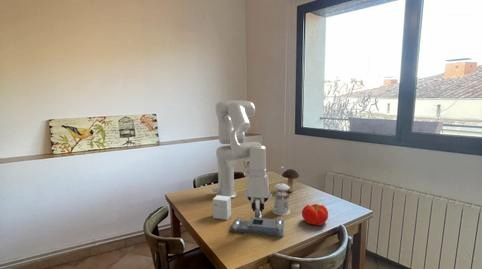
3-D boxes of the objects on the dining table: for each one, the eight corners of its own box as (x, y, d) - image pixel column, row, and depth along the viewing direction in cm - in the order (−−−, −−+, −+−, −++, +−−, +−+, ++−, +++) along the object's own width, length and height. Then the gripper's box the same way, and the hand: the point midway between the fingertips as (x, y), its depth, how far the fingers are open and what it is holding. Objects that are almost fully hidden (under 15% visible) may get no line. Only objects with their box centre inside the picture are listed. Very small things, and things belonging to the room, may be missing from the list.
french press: (270, 213, 143) (270, 168, 139) (275, 204, 154) (275, 162, 150) (288, 216, 140) (289, 170, 136) (292, 207, 151) (293, 163, 146)
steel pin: (254, 217, 124) (254, 197, 123) (255, 214, 127) (255, 194, 125) (260, 218, 124) (260, 197, 122) (261, 215, 126) (261, 195, 125)
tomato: (306, 229, 126) (306, 212, 125) (299, 217, 139) (299, 201, 137) (332, 228, 127) (333, 211, 126) (323, 216, 139) (324, 200, 138)
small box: (231, 215, 142) (231, 196, 140) (227, 220, 136) (227, 200, 135) (217, 213, 144) (216, 194, 142) (213, 218, 139) (212, 198, 137)
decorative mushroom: (301, 190, 175) (301, 168, 172) (295, 196, 166) (296, 172, 163) (285, 187, 181) (285, 165, 178) (278, 192, 171) (279, 170, 169)
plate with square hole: (230, 232, 125) (230, 221, 124) (235, 223, 133) (234, 212, 132) (283, 237, 120) (283, 226, 119) (283, 227, 129) (284, 216, 128)
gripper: (238, 173, 120) (239, 212, 123) (275, 175, 117) (275, 215, 120) (241, 169, 127) (242, 205, 130) (276, 170, 124) (276, 208, 127)
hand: (257, 210), depth 125 cm, fingers closed on steel pin, 3 cm apart
